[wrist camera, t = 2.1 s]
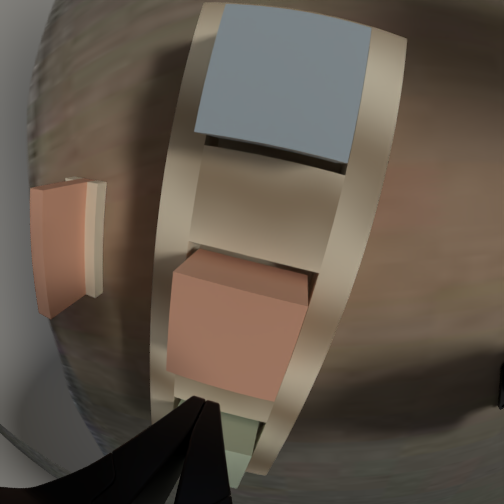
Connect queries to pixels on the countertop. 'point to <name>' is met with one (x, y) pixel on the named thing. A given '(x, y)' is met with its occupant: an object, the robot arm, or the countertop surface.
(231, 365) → the terracotta button
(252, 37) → the slate button
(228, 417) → the sage button
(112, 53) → the countertop surface
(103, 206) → the terracotta sign
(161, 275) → the button panel
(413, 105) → the countertop surface
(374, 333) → the countertop surface
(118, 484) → the robot arm
